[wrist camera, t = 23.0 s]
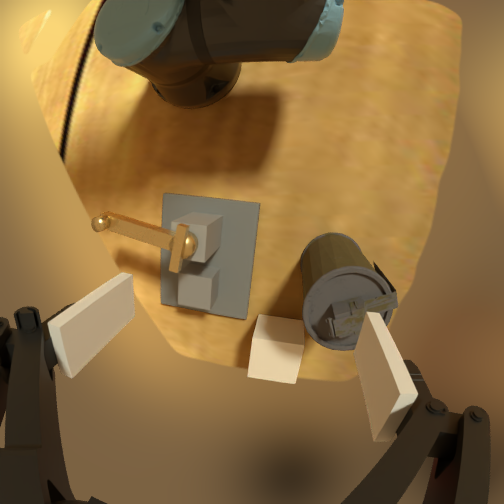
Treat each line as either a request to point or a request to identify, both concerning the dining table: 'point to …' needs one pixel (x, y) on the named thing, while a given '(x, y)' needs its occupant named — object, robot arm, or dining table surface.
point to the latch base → (222, 256)
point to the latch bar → (151, 235)
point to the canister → (341, 291)
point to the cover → (276, 349)
